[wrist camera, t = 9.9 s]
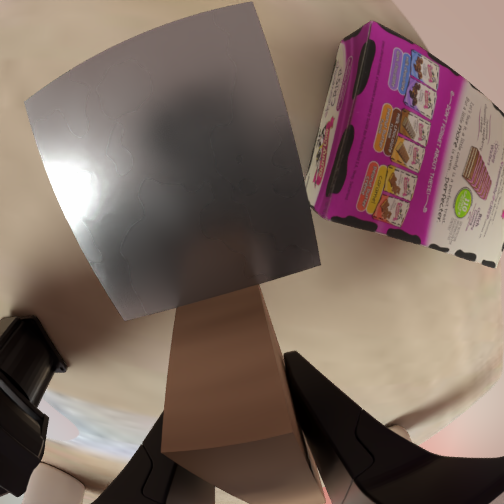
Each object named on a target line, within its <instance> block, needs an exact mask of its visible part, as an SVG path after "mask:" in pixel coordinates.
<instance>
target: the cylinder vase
mask: <svg viewBox="0 0 504 504" xmlns="http://www.w3.org/2000/svg"><path fill="white" fill-rule="evenodd" d="M84 492H85V487H84V485H83V484H82V483H81V482H80V481H78V480H77V479H75V478H74V477H72V476H71V475H69V474H67V473H65V472H63V471H61V470H59V469H57V468H55V467H52V466H50V465H47V464H44V463H39V465H38V466H37V467H36V468H35V469H34V471H33V472H32V474H31V477H30V480H29V483H28V486H27V490H26V492H25V494H24V498H23V502H22V504H82V502H83V497H84Z"/></svg>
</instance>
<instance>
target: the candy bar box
mask: <svg viewBox="0 0 504 504" xmlns="http://www.w3.org/2000/svg"><path fill="white" fill-rule="evenodd" d="M305 186H306V191H307V196H308V200H309V205H310V207H311V208H312V209H313V210H314V211H315V212H316V213H317V214H319V215H320V216H321V217H322V218H324V219H326V220H328V221H332V222H336V223H340V224H343V225H347V226H351V227H355V228H359V229H363V230H367V231H371V232H375V233H378V234H381V235H386V236H389V237H393V238H396V239H400V240H403V241H407V242H411V243H414V244H419V245H421V246H425V247H429V248H432V249H435V250H439V251H442V252H445V253H448V254H451V255H454V256H457V257H460V258H464V259H466V260H469V261H473V262H477V263H480V264H482V265H485V266H488V267H491V268H495V269H496V267H497V265H498V262H499V260H500V257H501V255H502V252H503V249H504V113H503V112H502V111H501V110H500V109H499V108H498V107H497V106H496V105H494V104H493V103H492V102H491V101H490V100H489V99H488V98H487V97H486V96H485V95H484V94H483V93H481V92H480V91H479V90H478V89H476V88H475V87H474V86H473V85H472V84H471V83H470V82H468V81H467V80H466V79H465V78H463V77H462V76H461V75H459V74H458V73H457V72H455V71H454V70H453V69H452V68H450V67H449V66H447V65H446V64H445V63H443V62H442V61H440V60H439V59H438V58H436V57H435V56H433V55H432V54H430V53H429V52H427V51H426V50H424V49H423V48H421V47H420V46H418V45H416V44H415V43H413V42H411V41H410V40H408V39H407V38H405V37H403V36H401V35H400V34H398V33H396V32H394V31H393V30H391V29H389V28H387V27H385V26H383V25H381V24H379V23H377V22H375V21H370V22H368V23H367V24H365V25H363V26H362V27H361V28H359V29H358V30H356V31H355V32H353V33H352V34H350V35H349V36H347V37H345V38H344V39H343V40H342V41H341V42H340V44H339V48H338V53H337V57H336V61H335V65H334V70H333V74H332V78H331V82H330V86H329V90H328V95H327V98H326V102H325V106H324V110H323V114H322V118H321V122H320V127H319V130H318V134H317V137H316V141H315V145H314V149H313V153H312V157H311V161H310V165H309V168H308V172H307V176H306V179H305Z"/></svg>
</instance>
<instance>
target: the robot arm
mask: <svg viewBox="0 0 504 504" xmlns="http://www.w3.org/2000/svg"><path fill="white" fill-rule="evenodd" d="M284 363H285V370H286V374H287V378H288V381H289V385H290V389H291V393H292V397H293V400H294V404H295V408H296V411H297V415H298V418H299V421H300V425H301V428H302V431H303V433H304V436H305V438H306V441H307V443H308V446H309V448H310V451H311V453H312V456H313V458H314V461H315V463H316V466H317V468H318V470H319V473H320V475H321V478H322V480H323V483H324V485H325V487H326V490H327V492H328V494H329V497H330V499H331V502H332V504H504V456H503V457H498V458H463V457H447V456H441V455H437V454H434V453H431V452H429V451H427V450H425V449H423V448H421V447H419V446H418V445H416V444H414V443H412V442H411V441H409V440H407V439H405V438H404V437H402V436H400V435H399V434H397V433H395V432H394V431H392V430H390V429H389V428H387V427H386V426H384V425H383V424H381V423H380V422H379V421H377V420H376V419H375V418H374V417H372V416H371V415H370V414H369V413H367V412H366V411H365V410H364V409H363V410H362V408H361V407H360V406H359V405H358V404H356V403H355V402H354V401H353V400H352V399H351V398H349V397H348V396H347V395H346V394H345V393H344V392H342V391H341V390H340V389H339V388H338V387H337V386H335V385H334V384H333V383H332V382H331V381H330V380H328V379H327V378H326V377H325V376H324V375H323V374H322V373H320V372H319V371H318V370H317V369H316V368H315V367H314V366H313V365H311V364H310V363H309V362H308V361H307V360H306V359H305V358H304V357H302V356H301V355H300V354H299V353H298V352H297V351H291V352H286V353H284ZM67 369H68V368H67V366H66V364H65V363H64V361H63V360H62V358H61V357H60V355H59V354H58V352H57V350H56V349H55V347H54V346H53V344H52V342H51V341H50V339H49V338H48V336H47V334H46V332H45V331H44V329H43V327H42V326H41V324H40V322H39V320H38V319H37V318H36V317H35V316H26V317H17V316H16V317H9V318H3V319H2V320H0V497H1V496H3V495H5V494H8V493H11V494H13V495H14V496H16V497H19V496H21V495H22V494H23V493H25V492H26V490H27V486H28V483H29V480H30V477H31V474H32V472H33V471H34V469H35V468H36V467H37V466H38V465H39V463H40V462H41V460H42V457H43V454H44V449H45V441H46V434H47V427H48V421H49V417H48V416H47V415H46V414H43V413H42V412H41V411H40V410H39V409H38V408H37V407H38V405H39V403H40V401H41V399H42V397H43V395H44V393H45V391H46V389H47V387H48V385H49V383H50V381H51V379H52V377H53V375H54V373H64V372H66V371H67ZM163 416H164V411H163V412H162V414H161V415H160V417H159V418H158V420H157V421H156V423H155V424H154V426H153V427H152V429H151V430H150V432H149V433H148V435H147V436H146V438H145V439H144V441H143V442H142V444H143V445H142V444H141V445H140V447H139V448H138V450H137V451H136V453H135V454H134V456H133V457H132V458H131V460H130V461H129V462H128V464H127V465H126V466H125V467H124V469H123V470H122V471H121V472H120V474H119V475H118V476H117V477H116V478H115V479H114V480H113V482H112V483H111V484H110V485H109V486H108V487H107V488H106V489H105V490H104V492H103V493H102V494H101V495H100V496H99V497H98V498H97V499H96V500H95V501H94V502H92V503H91V504H215V486H214V485H212V484H210V483H208V482H207V481H205V480H203V479H201V478H200V477H198V476H196V475H195V474H193V473H191V472H190V471H188V470H187V469H185V468H183V467H182V466H180V465H179V464H177V463H176V462H174V461H173V460H171V459H170V458H168V457H167V456H165V455H164V454H162V453H161V443H162V428H163Z"/></svg>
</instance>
